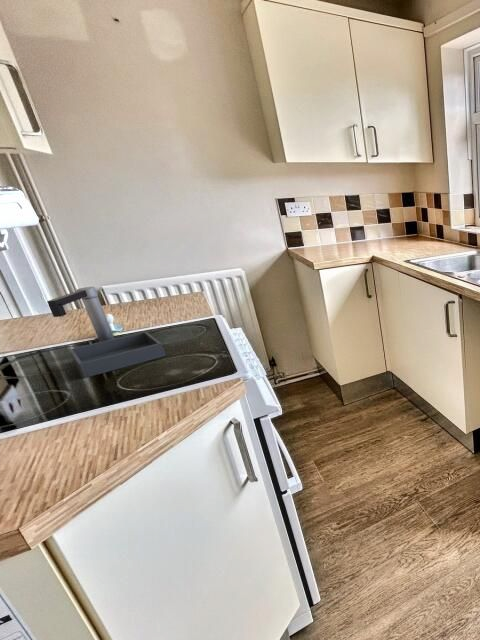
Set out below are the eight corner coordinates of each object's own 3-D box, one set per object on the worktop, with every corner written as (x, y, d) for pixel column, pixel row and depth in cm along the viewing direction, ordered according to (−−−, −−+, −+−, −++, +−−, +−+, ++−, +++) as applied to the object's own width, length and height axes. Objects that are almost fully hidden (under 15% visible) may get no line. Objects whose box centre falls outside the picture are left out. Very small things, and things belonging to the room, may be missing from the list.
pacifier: (93, 341, 117) (121, 336, 120) (83, 320, 115) (112, 315, 118) (98, 334, 123) (125, 329, 126) (89, 314, 120) (116, 309, 123)
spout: (49, 317, 97) (41, 301, 96) (89, 301, 109) (82, 287, 108) (66, 316, 98) (58, 300, 96) (104, 300, 110) (98, 286, 108)
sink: (85, 378, 96) (78, 364, 95) (74, 362, 104) (68, 349, 103) (166, 355, 107) (161, 343, 105) (150, 343, 115) (146, 331, 114)
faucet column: (98, 353, 109) (76, 302, 104) (94, 348, 112) (72, 298, 107) (126, 347, 113) (106, 296, 108) (121, 342, 116) (101, 293, 111)
